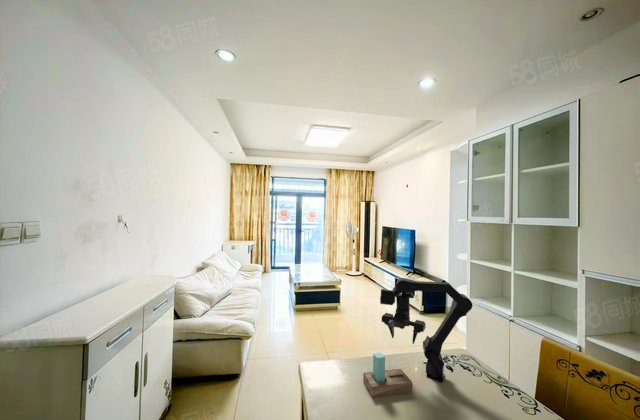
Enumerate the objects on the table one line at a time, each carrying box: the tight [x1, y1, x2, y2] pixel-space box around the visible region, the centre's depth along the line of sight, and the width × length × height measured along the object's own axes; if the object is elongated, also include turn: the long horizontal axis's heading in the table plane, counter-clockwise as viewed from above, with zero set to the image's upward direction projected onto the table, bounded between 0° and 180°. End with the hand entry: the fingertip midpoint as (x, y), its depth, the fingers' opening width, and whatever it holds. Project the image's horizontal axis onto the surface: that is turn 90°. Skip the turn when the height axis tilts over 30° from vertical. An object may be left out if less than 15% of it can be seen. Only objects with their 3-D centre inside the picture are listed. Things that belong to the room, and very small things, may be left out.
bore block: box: [363, 368, 413, 398], centre depth 99 cm, size 9×17×4 cm, turn 101°
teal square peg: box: [372, 352, 386, 383], centre depth 98 cm, size 3×3×13 cm
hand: (402, 340), depth 111 cm, fingers open, 9 cm apart
